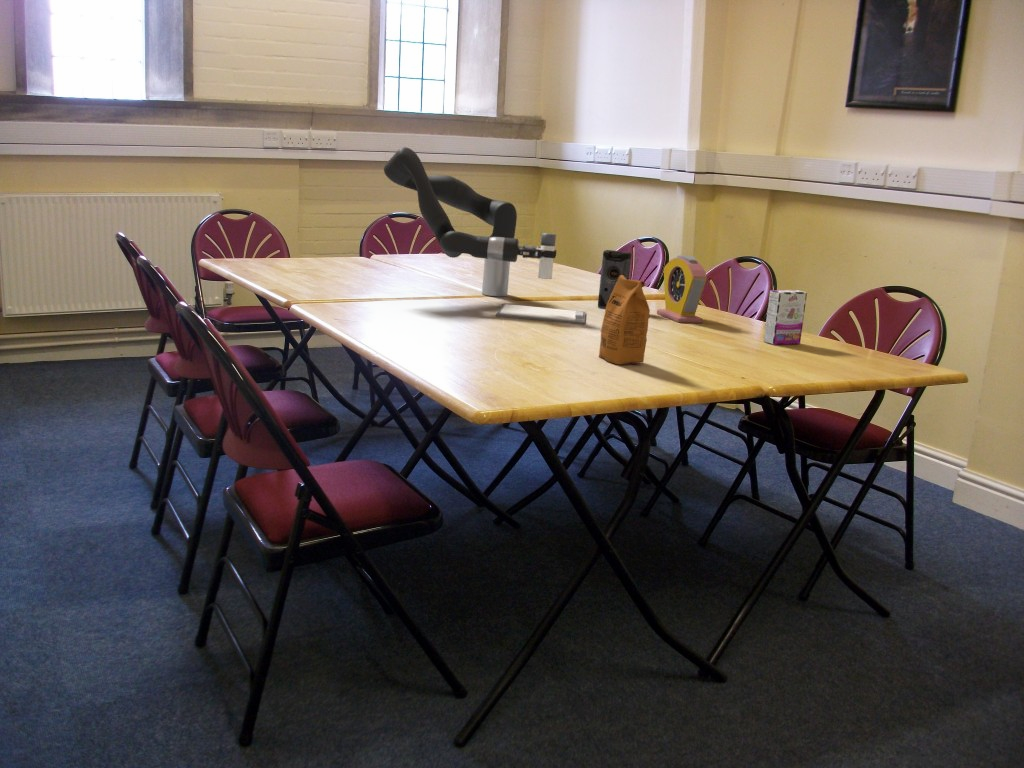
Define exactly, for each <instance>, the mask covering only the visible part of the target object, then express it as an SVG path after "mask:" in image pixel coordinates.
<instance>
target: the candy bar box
mask: <svg viewBox="0 0 1024 768" xmlns="http://www.w3.org/2000/svg"><path fill="white" fill-rule="evenodd" d="M768 295H769V297H768V302H767V311H766V318H765V319H766V320H765V327H764V333H763V335H764V336H763V343H765V344H768V343H769V345H773V346H781V345H782V346H785V345H786V346H787V345H800V344H801V340H802V332H803V324H804V319H805V317H804V316H805V312H806V303H807V295H808V292H807V291H805V290H800V289H799V290H798V289H775V290H774V289H770V290H769V294H768Z"/></svg>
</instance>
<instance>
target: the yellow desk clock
mask: <svg viewBox="0 0 1024 768" xmlns="http://www.w3.org/2000/svg"><path fill="white" fill-rule="evenodd" d="M663 278H664V279H663V282H664V301H665V303H664V304H665V308H664V309H663V308H662V309H661V308H658V309H657V310H656V314H657V315H659V316H662V317H664V318H666V319H669V320H671V321H674V322H676V323H678V324H702V323H704V319H703V318H702V317H700V316H697V315H696V312H697V310H698V307H699V303H700V301H701V297H702V295H703V292H704V289H705V285H706V282H707V280H708V276H707V274H706V270H705V269H704V267H703V265H702V264H701V263H700V262H699V261H698V260H697V259H696V258H695V257H694V256H693V255H684V254H683V255H682V254H681V255H677V256H676V257H675V258H672V259H670V260H669V261H668V262H667V263H666V264H665V266H664V267H663Z"/></svg>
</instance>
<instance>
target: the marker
mask: <svg viewBox="0 0 1024 768" xmlns="http://www.w3.org/2000/svg"><path fill="white" fill-rule="evenodd" d="M556 237H557V234H555V233H552V232H551V233H550V232H542V233H541V237H540V247H541V249H543V250H547V251H554V250H555V247H556ZM554 259H555V258H545V257H544V256H543V258H539V265H538V275H537V276H538V277H537V278H538V279H541V280H552V278H553V271H554V270H553V268H554Z"/></svg>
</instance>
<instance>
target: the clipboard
mask: <svg viewBox="0 0 1024 768" xmlns="http://www.w3.org/2000/svg"><path fill="white" fill-rule="evenodd" d="M495 316H496V317H502V318H513V319H522V320H523V319H525V320H532V321H533V320H534V321H535V320H536V321H544V322H545V321H546V322H556V323H566V324H574V325H575V324H576V325H585V322H586V311H585V310H584V311H581V310H572V309H564V308H563V309H562V308H561V309H560V308H551V307H542V306H541V307H540V306H539V307H538V306H531V305H530V306H529V305H518V304H507V303H502V304H501V306H500V307H499V309H498V310H497V312H496V313H495Z"/></svg>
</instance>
